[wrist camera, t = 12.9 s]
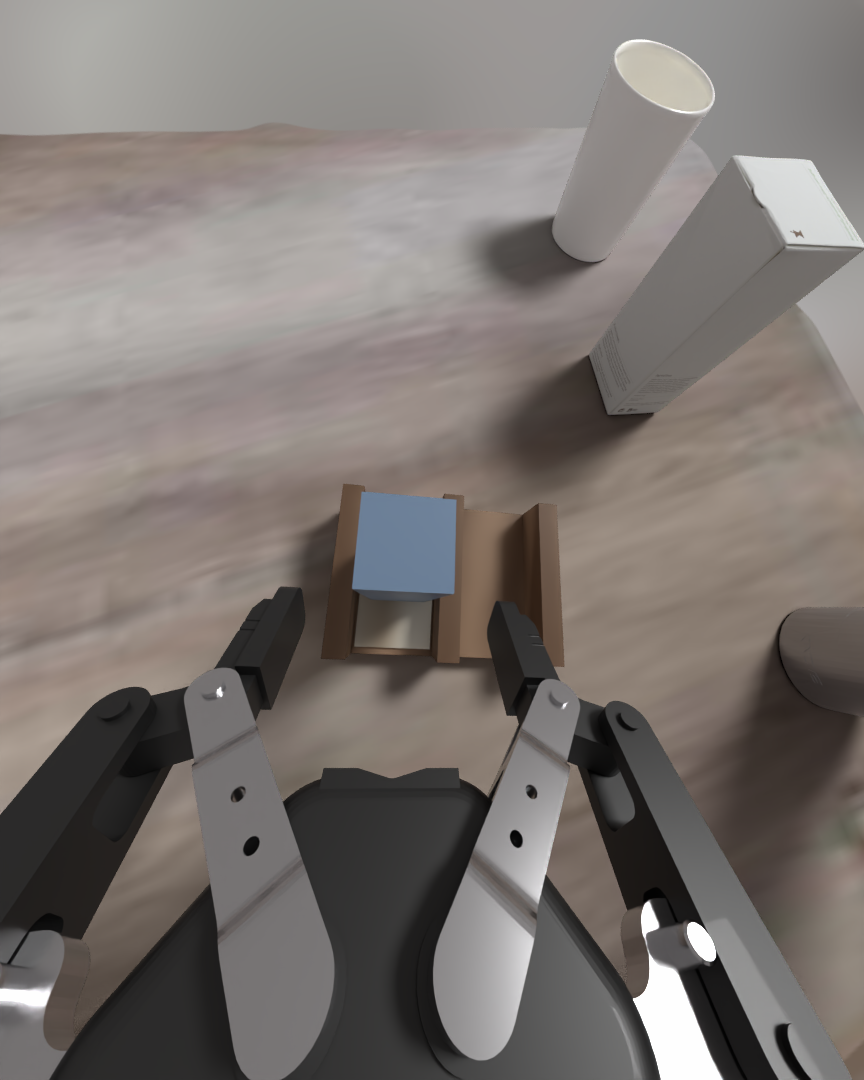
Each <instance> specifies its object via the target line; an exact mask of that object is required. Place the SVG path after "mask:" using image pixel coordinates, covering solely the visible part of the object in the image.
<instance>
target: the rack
mask: <svg viewBox="0 0 864 1080" xmlns="http://www.w3.org/2000/svg"><path fill="white" fill-rule="evenodd" d="M362 492H365V487H364V486H361V485H350V484H343V490H342V498H341V506H340V514H339V521H338V529H337V537H336V545H335V553H334V560H333V568H332V576H331V584H330V592H329V599H328V607H327V615H326V623H325V631H324V638H323V646H322V654H321V659H346V658H347V657H348V656H349V655H350V654H351V653H361V654H389V655H417V656H432V657H433V658H434V659H435V661H436V662H437V663H459V659H460V657H473V658H492V656H491V652H490V648H489V644H488V640H487V627H488V623H489V620H490V617H491V614H492V611H493V607H494V604H495V602H496V601H508V602H515V604H516V605H517V608H518V610H519V613H520V615H527V616H528V617H529V619H530V620H531V621H532V622H533V623H534V624H535V626H536V628H537V630H538V633H539V635H540V637H541V639H542V642H543V646H545V648H546V651H547V653H548V655H549V657H550V660H551V662H552V664H553V666H556V667H564V649H563V628H562V607H561V586H560V565H559V544H558V523H557V505H553V504H543V503H538V504H537V505H535V506H534V507H533V508H531V509H530V510H528V511H527V512H526V513H524V514H523V515H520V514H509V513H499V512H488V511H477V510H467V509H464V496H462V495H452V494H444V496H443V499H454V500H456V542H455V586H454V594H452V595H449V596H445V597H441V598H437V599H433V600H429V601H426V602H410V601H388V600H371V599H369V598H367V597H365V596H364V595H362V594H360V593H358V592H356V591H355V590H353V589H352V584H353V574H354V564H355V554H356V544H357V534H358V524H359V514H360V504H361V494H362Z"/></svg>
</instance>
